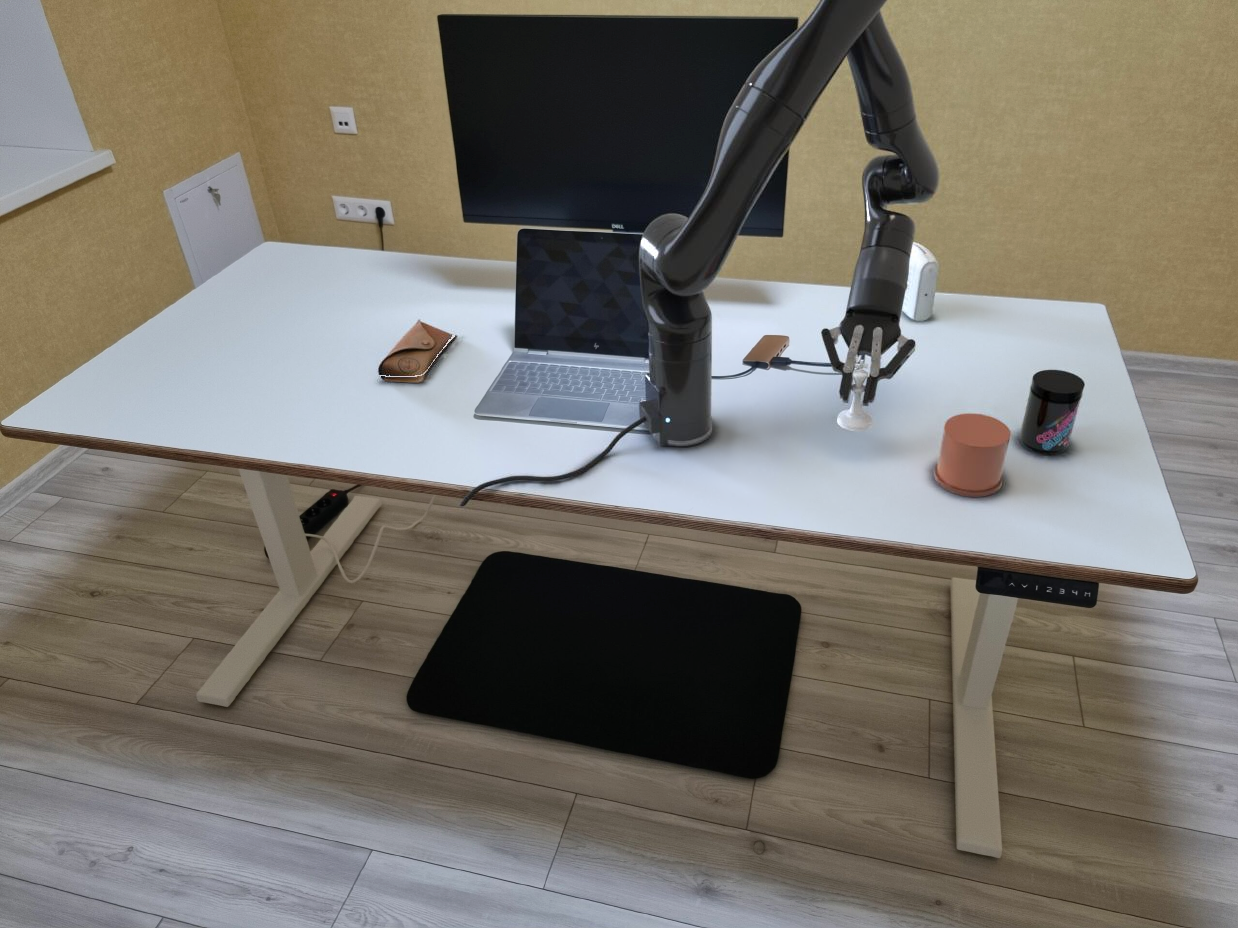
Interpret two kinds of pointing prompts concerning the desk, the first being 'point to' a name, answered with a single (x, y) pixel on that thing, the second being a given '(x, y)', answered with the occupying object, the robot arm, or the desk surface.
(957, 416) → the upturned cup
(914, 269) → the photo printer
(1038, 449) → the supplement container
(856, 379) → the chess piece
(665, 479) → the desk surface
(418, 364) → the sunglasses case
